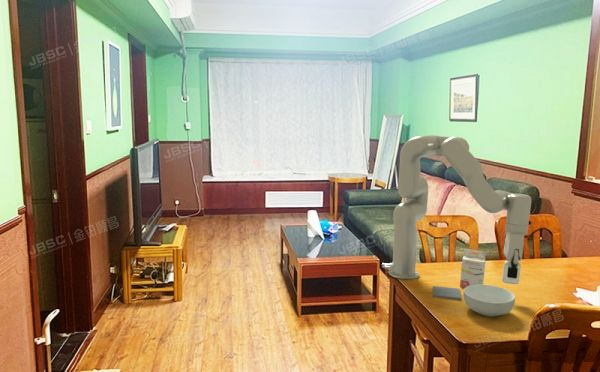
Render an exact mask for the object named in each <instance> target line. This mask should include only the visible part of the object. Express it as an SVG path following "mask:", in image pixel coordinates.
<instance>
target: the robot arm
mask: <svg viewBox="0 0 600 372" xmlns="http://www.w3.org/2000/svg"><path fill="white" fill-rule="evenodd" d="M400 149H401V150H400V153H399V154H400V155H399V169H398V180H397V181H398V182H397V183H398V184H397V193H398V195H399V196H400V197H401V198H402V199H406V201H404V202H401V203H399V204H397V205H396V207H394V209H393V214H392V219H393V230H394V231H393V250H392V262H390V263H386V262H385V263H384V262H382V264H381V268H383V269H384V270H388V275H389V276H391V277H393V278H395V279H399V280H414V279H417V278H419V276H420V273H419V271H417V270H416V264H417V245H418V231H417V230H418V229H417V222H419V221H422V220H423V219H424V218H425V216H426V214H427V211H428V198H429V183H428V180H427V179H426V177H424V176H423V175H421V169H422V168H421V161H420V160H421V158H423V157H431V156H433V157H442V158H444V159H445V160H446V162H447V163H448V164H449V165H450V166H451V167H452V168H453V169H454V171H456V173H457V174H458V175H459V176H460V178H461V179H462V180H463V183H464V185H465V187H466V189H467V190H468V192H469V193H470V195H471V197H472V198H473V199H474V200H475V202H477V204H478V205H479V206H480V207H481V208H482V209H483V210H484V211H485V212H487V213H489V214H497V213H498V214H499V212H501V211H506V217H505V218H506V219H505V227H504V231H505V232H506V235H505V241H504V247H503V255H504V256H505V258H506V261H508V260H509V259H510V263H509V267H508V273H507V277H508V278H517V272H518V262H520V261H521V260H522V259H523V251H524V241H525V235H527V234H528V231H529V225H530V224H529V223H530V216H531V207H532V196H530V195H528V194H523V193H513V192H510V191H506V190H502V189H498V190H497V189H496V190H494V188H493V187H492V186H491V185H490V184H489V183H488V181H487V180H486V178H485V176H484V172H483V166H482V164H481V162H479V160H477V158H476V156H474V155H473V154H472V153H471V152H470V144H469V142H468V141H467V140H466V139H465V138H463V137H459V136H443V135H435V134H431V135H430V134H429V135H428V134H427V135H417V136H413V137H412V138H410V139H408V140H407V141H406V142H404V144H403V145H402V147H401V148H400ZM512 258H514V259H512ZM512 261H513V262H512Z"/></svg>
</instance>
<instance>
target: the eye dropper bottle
mask: <svg viewBox="0 0 600 372" xmlns="http://www.w3.org/2000/svg"><path fill="white" fill-rule="evenodd" d="M512 259H514V258H512ZM512 262H513V261H512ZM509 263H510V259H509V260H508V261H507V260H505V261H503V268H502V277H501V281H502V282H503V283H505V284H510V285H519V284H520V276H521V266H522V265H521V262H520V261H518V272H517V278H508V277H507V273H508V267H509Z"/></svg>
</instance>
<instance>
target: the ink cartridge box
mask: <svg viewBox="0 0 600 372" xmlns="http://www.w3.org/2000/svg"><path fill="white" fill-rule="evenodd" d="M463 250H464V251H463V257H462V261H461V270H460V283H459V287H460V288H464V289H465V288H466V287H467V286H470V285H484V282H485V281H484V280H485V279H484V278H485V270H486V251H483V250H477V249H468V248H464V249H463ZM474 253H476V254H474Z"/></svg>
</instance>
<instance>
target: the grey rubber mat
mask: <svg viewBox="0 0 600 372" xmlns="http://www.w3.org/2000/svg"><path fill="white" fill-rule="evenodd" d="M461 295H462V294H461V290H460V288H455V287H447V286H446V287H445V286H436V285H432V298H436V299H437V298H439V299H448V300H456V301H461V300H462V296H461Z"/></svg>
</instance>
